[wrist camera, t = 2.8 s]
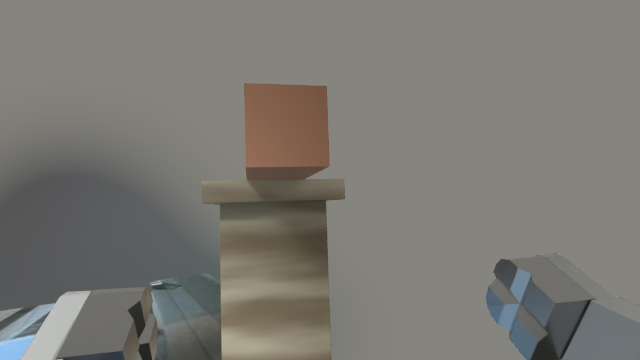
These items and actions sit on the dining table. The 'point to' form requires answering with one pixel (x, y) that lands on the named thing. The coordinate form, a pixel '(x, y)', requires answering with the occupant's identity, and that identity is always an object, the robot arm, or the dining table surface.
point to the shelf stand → (274, 267)
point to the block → (285, 131)
